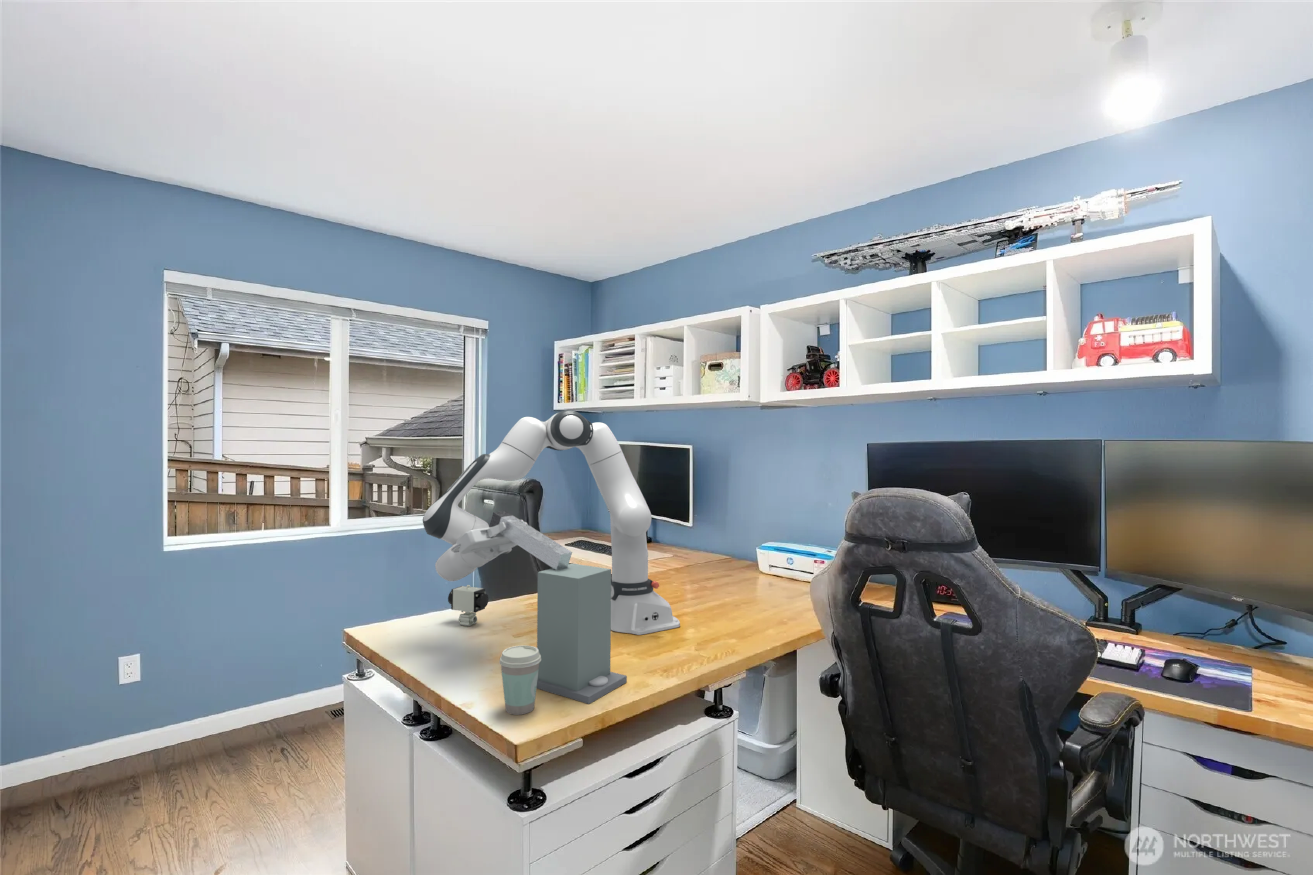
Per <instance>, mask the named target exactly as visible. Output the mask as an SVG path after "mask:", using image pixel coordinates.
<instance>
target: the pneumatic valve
mask: <svg viewBox="0 0 1313 875" xmlns="http://www.w3.org/2000/svg"><path fill="white" fill-rule="evenodd" d="M489 598H490V597H489V595H488V594H487V592H486V588H483V587H477V586H475V587H474V586H471V585H470V584H467V585H466V586H464V585H460V586H457V587H455V588H451V590H450V591H449V594H448V596H447V602H448V604H449V605H450V607H451V608H450V609H451V610H452V611H458V612H459V611H460V614H459V616H458V622H459V623H458V624H459V625H460V626H464V627H471V626H472V625H475V624H477V622H478V617H477V613H478V612H481V611H483V610H485V608H486V607H487V606H488V604H489Z"/></svg>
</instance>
